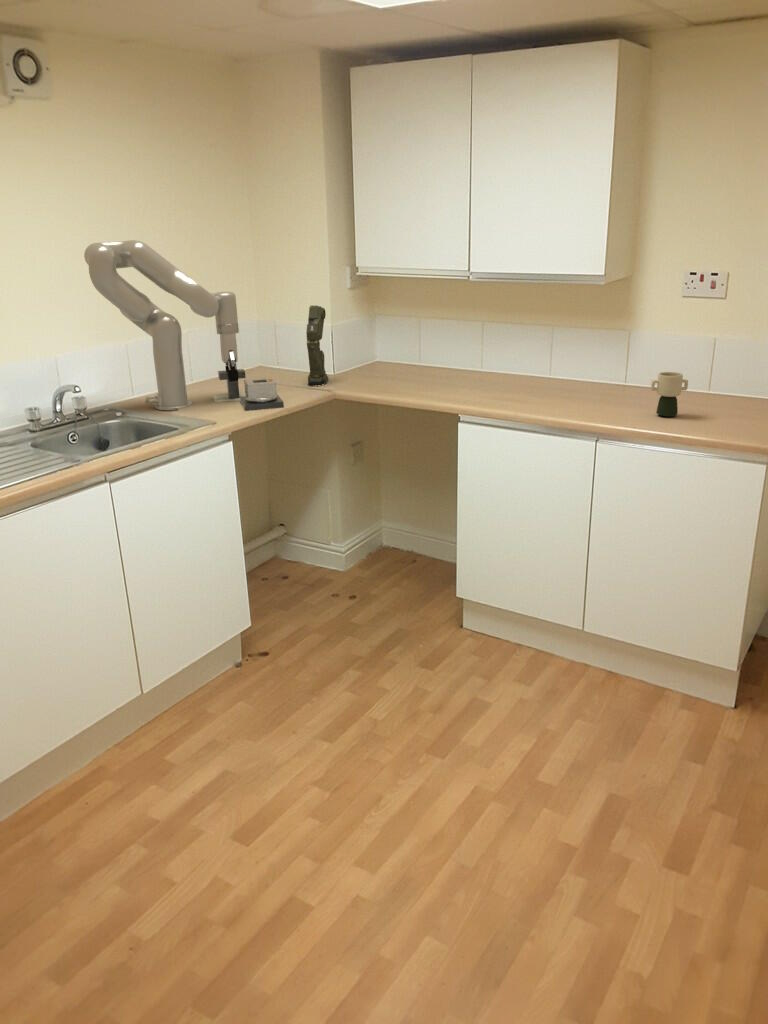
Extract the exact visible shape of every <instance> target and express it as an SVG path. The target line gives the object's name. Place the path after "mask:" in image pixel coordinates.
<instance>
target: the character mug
mask: <svg viewBox="0 0 768 1024" xmlns="http://www.w3.org/2000/svg"><path fill="white" fill-rule="evenodd" d="M683 377H684V375H683V373H680V372H677V371H664V372H659V373H658V375H657V379H652V381H651V386H650V387H651V388H650V389H651V391H652V392H656V393H657V395H659V396H660V397H659V398H658V399H659V400H658V402H657V403H658V404H657V406H656V407H657V409H656V415H660V416H661V417H663V416H664V417H675V416H677V415H678V414H679V413H678V412H679V411H678V398H677V397H679V396H681V395H682V391H687V390H688V386H689V380H688V379H683ZM656 384H657V386H656V387H655V385H656ZM683 384H684V386H682V385H683Z"/></svg>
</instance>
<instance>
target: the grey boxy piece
mask: <svg viewBox="0 0 768 1024" xmlns="http://www.w3.org/2000/svg"><path fill="white" fill-rule="evenodd" d="M243 383H244V394H246V396H245V400H246V401H249V402H267V401H272V400H275V399H277V394H278V389H277V388H278V387H277V382H276V381H275V379H274V378H273V377H262V378H251V379H249V378H248V379H244V380H243Z"/></svg>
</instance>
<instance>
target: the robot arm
mask: <svg viewBox="0 0 768 1024" xmlns="http://www.w3.org/2000/svg"><path fill="white" fill-rule="evenodd" d="M83 255H84V256H83V258H84V261H85V263H86V264H87V266H88V273H89V278H90V280H91V283H92V285H93V287H94V288H95V290H96V291H97V292H98V293H99V294H100V295H102V296H103V298H105V299H106V300H107V301H109V302H110V303H111V304H112V305H113V306H115V307H116V308H117V309H118V310H119V311H120V313H121V315H123V316H124V317H125V318H126V319H127V320H129V321H130V322H131V323H133V325H135V326H136V327H138V328H139V329H141V330H142V331H144V332H145V333H146V334H148V336H150V337H151V339H152V355H153V362H154V368H155V369H154V370H155V378H156V385H157V386H156V387H157V395H154V396H146V397H145V398H144V399H145V403H146V404H155V405H154V408H155V409H156V410H157V411H158V410H159V411H178V410H180V409H184V408H185V409H186V408H189V407H190V406H193V405H194V404H193V401H192V400H190V399H188V392H187V391H188V390H187V382H186V374H185V365H184V357H183V347H182V345H183V344H182V341H183V339H182V338H183V337H182V336H183V335H182V333H183V332H182V327H181V324H180V322H179V321H178V319H177V317H175V316H174V315H172V314H170V313H167V312H166V311H164V310H163V309H161V308H160V307H158V305H156V304H155V303H153V302H152V301H151V299H150V298H149V297H148V296H147V295H146V294H145V293H143V292H141V291H139V290H138V289H137V288H136V287H134V286H133V284H130V283H129V282H128V281H127V280H126V279H125V278H123V277H122V276H121V275H120V274H119V273H118V271H117V270H118V269H127V268H133V269H135V270H136V271H138V273H140V274H142V275H143V276H144V277H145V278H147V279H148V280H150V281H151V282H152V283H153V284H155V285H156V286H157V287H158V288H160V289H161V290H163V291H165V292H167V293H168V294H170V295H172V296H174V297H176V298H178V299H179V300H181V301H183V302H184V303H186V304H187V305H188V306H189V308H190V309H191V311H192V312H193V313H194V314H196V315H197V316H201V317H203V318H207V319H208V318H212V317H215V326H216V328H215V329H216V334H217V335H219V343H220V354H221V355H220V357H221V361H222V362H223V363H224V364H225V371H226V370H228V375H229V381H230V382H232V381H238V382H239V379H238V370H239V369H238V365H237V363H238V344H237V334H239V332H240V331H239V320H238V319H239V318H238V309H237V308H238V306H237V297H236V294H235V293H234V292H232V291H220V292H219V291H218V292H209V291H208V290H207V289H206V288H204V287H203V286H201V285H200V284H199V283H197V282H196V281H194V279H192V278H191V277H189V276H188V275H186V274H185V273H184V272H183V271H182V270H181V269H179V268H178V267H176V266H175V265H174V264H173V263H171V262H170V261H168V259H166V258H165V257H163V256H162V255H161V254H159V252H157V251H156V250H154V249H153V248H152V247H151V246H150V245H148V244H146V243H145V242H143V241H141V240H137V239H136V240H135V239H133V240H132V239H131V240H129V239H128V240H123V241H122V240H121V241H107V242H94V243H91V244H89V245H88V246H87V247H86V248H85V250H84V254H83Z"/></svg>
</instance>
